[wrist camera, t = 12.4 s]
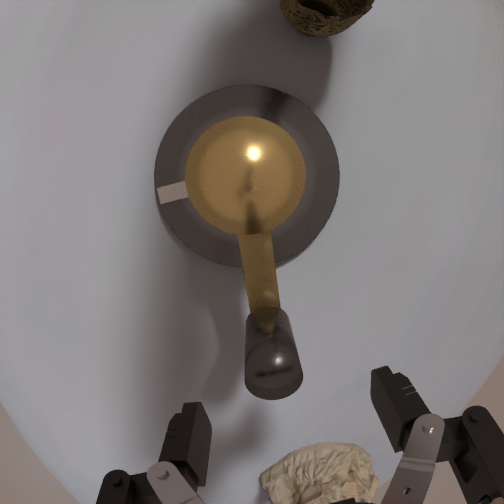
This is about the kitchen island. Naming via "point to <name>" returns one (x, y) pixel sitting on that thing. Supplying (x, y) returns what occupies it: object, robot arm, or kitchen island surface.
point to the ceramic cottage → (321, 475)
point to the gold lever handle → (253, 232)
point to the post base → (269, 108)
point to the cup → (324, 15)
